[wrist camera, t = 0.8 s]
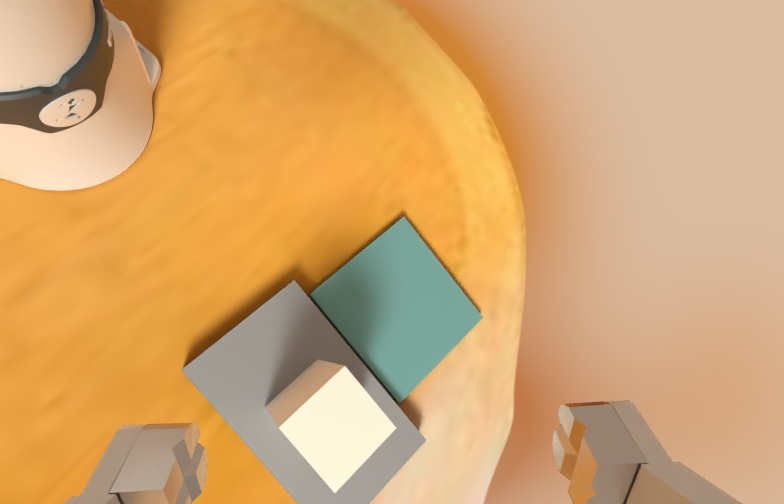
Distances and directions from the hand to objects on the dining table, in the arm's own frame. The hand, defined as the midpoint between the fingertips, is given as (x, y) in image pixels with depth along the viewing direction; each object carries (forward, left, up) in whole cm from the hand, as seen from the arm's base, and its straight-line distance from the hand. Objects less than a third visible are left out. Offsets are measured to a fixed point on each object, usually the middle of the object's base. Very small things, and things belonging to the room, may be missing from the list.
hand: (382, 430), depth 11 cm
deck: (+6, +1, -35) cm, 36 cm away
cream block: (+6, +1, -33) cm, 34 cm away
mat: (+5, +14, -35) cm, 38 cm away
